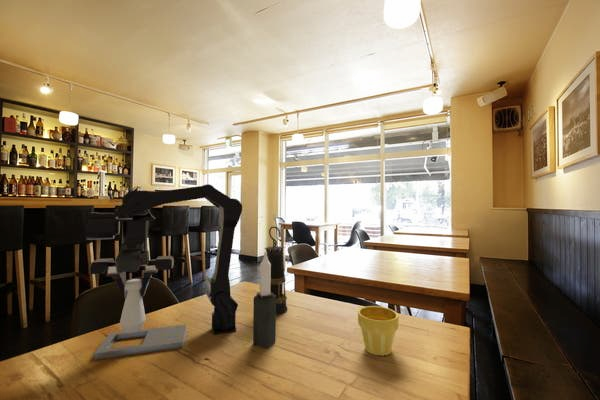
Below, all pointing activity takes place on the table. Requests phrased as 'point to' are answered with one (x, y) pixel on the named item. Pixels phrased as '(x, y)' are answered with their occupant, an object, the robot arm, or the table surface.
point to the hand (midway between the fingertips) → (133, 297)
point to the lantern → (277, 274)
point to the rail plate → (153, 341)
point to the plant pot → (378, 328)
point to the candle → (264, 309)
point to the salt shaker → (133, 307)
